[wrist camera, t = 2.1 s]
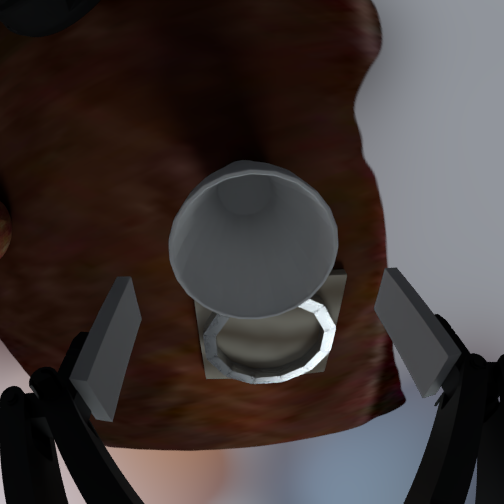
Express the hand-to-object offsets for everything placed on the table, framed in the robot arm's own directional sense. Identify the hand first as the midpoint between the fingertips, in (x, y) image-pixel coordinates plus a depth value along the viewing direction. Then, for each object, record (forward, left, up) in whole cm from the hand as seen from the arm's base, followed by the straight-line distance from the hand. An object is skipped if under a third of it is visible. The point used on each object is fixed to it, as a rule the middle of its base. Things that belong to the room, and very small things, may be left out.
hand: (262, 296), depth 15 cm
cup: (0, 0, -18) cm, 18 cm away
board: (+19, +3, -17) cm, 26 cm away
